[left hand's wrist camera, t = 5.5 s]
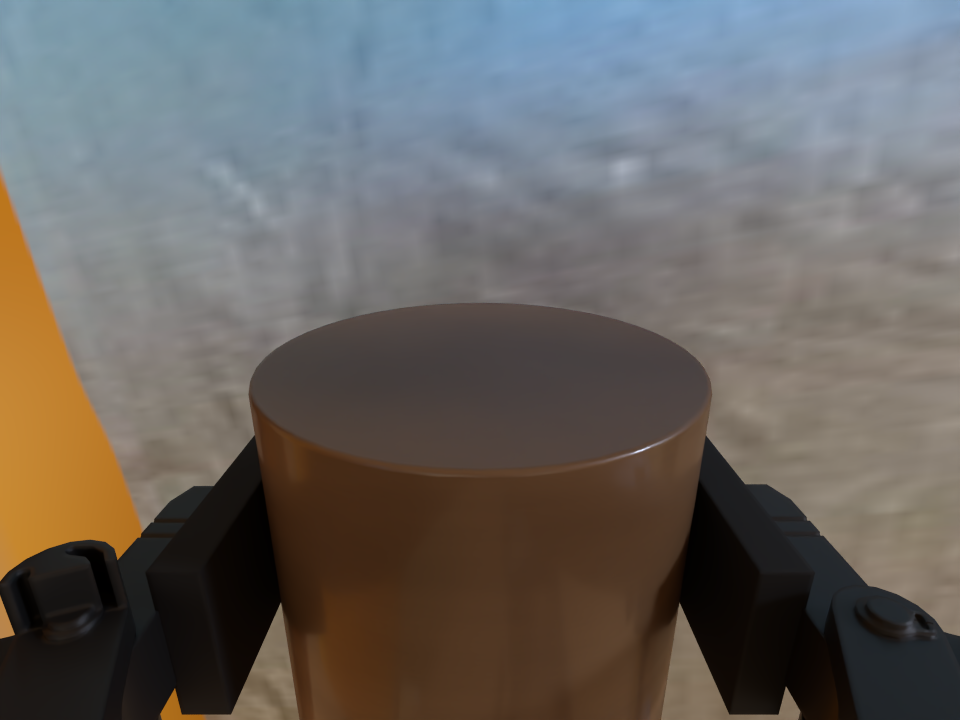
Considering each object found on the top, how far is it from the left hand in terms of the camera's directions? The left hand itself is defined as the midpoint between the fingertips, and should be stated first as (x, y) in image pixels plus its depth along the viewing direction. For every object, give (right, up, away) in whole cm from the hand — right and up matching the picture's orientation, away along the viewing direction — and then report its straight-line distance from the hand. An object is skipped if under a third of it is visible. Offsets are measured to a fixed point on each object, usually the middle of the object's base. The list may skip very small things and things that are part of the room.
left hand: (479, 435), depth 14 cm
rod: (0, -9, +4) cm, 9 cm away
